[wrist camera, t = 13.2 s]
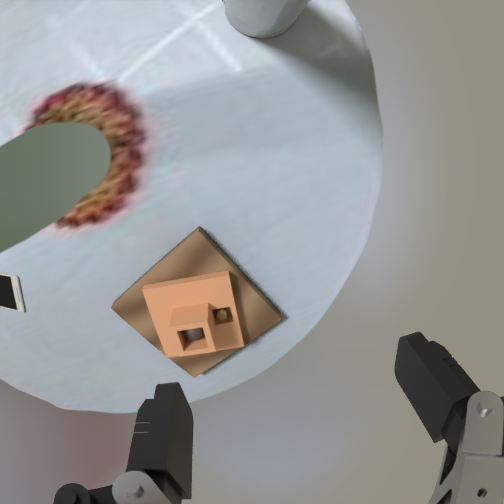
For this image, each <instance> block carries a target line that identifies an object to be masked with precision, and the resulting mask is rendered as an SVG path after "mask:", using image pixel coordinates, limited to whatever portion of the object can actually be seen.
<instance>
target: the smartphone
mask: <svg viewBox="0 0 504 504" xmlns="http://www.w3.org/2000/svg"><path fill="white" fill-rule="evenodd" d="M0 307H2V308H6V309H10V310H14V311H19V312H24V311H25V307H24V303H23V298H22V293H21V288H20V283H19V277H18V276H17V275H13V274H7V273H2V272H0Z"/></svg>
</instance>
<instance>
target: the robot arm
mask: <svg viewBox="0 0 504 504" xmlns="http://www.w3.org/2000/svg"><path fill="white" fill-rule="evenodd" d="M222 1H223V2H224V3H225V13H226V16H227V19H228V20H229V22H230V24H231V25H232V26H233V27H234V28H235V29H237V30H238V31H239V32H241V33H243V34H245V35H247V36H251V37H255V38H270V37H274V36H277V35H280V34H282V33H284V32H285V31H286V30H287V29H289V27H290V26H291V25H292V24H293V23H294V22H295V20H296V19H297V17H298V16H299V14H300V13H301V12H302V10H303V9H304V8H305V6H306V5H307V4H308V2H309V1H310V0H222ZM395 376H396V379H397V381H398V383H399V384H400V386H401V388H402V389H403V391H404V393H405V394H406V396H407V397H408V399H409V401H410V403H411V404H412V406H413V408H414V409H415V411H416V413H417V414H418V416H419V418H420V419H421V421H422V423H423V424H424V426H425V428H426V430H427V431H428V433H429V435H430V436H431V438H432V440H433V442H434V443H436V442H438V441H440V440H442V439H445V441H446V442H447V445H446V447H445V451H444V456H443V460H442V464H441V469H440V473H439V476H438V480H437V484H436V487H435V490H434V493H433V495H432V497H431V499H430V501H429V503H428V504H503V499H504V397H499V396H498V395H497V394H495V393H493V392H490V391H480V389H479V388H478V387H477V386H476V385H475V383H474V382H473V381H472V380H471V378H470V377H469V376H468V375H467V374H466V372H465V371H464V370H463V369H462V367H461V366H460V365H458V363H457V361H456V360H455V359H454V358H452V357H451V354H450V353H449V352H448V351H447V350H446V348H445V347H444V346H442V345H440V344H438V343H437V342H435V341H430V342H428V340H427V339H426V338H425V337H424V336H423V334H421V333H420V332H415V333H412V334H409V335H406V336H403V337H401V338H400V339H399V343H398V349H397V355H396V361H395ZM192 447H193V416H192V411H191V408H190V406H189V404H188V402H187V399H186V397H185V395H184V393H183V390H182V388H181V386H180V384H179V383H178V382H175V383H165V384H157V386H156V390H155V395H154V399H146V400H145V401H144V403H143V404H142V405H141V407H140V408H139V410H138V414H137V418H136V424H135V428H134V434H133V438H132V443H131V448H130V454H129V459H128V465H127V469H126V472H125V473H123V474H122V475H120V476H119V477H118V478H117V479H116V480H115V482H114V484H113V485H110V486H106V487H102V488H97V489H92V490H87V489H85V488H84V487H83V486H82V485H79V484H76V483H70V484H66V485H64V486H62V487H61V488H60V489H59V490H58V491H57V493H56V495H55V499H54V503H53V504H181V500H182V499H191V483H192Z"/></svg>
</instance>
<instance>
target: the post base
mask: <svg viewBox="0 0 504 504" xmlns="http://www.w3.org/2000/svg"><path fill="white" fill-rule="evenodd" d="M228 270H229V275H230V280H231V285H232V289H233V294H234V299H235V304H236V308H237V313H238V318H239V322H240V327H241V332H242V336H243V341H244V345H245V344H247V343H248V342H250V341H251V340H253V339H254V338H256V337H257V336H258V335H260V334H261V333H263V332H264V331H266V330H267V329H268V328H270V327H271V326H273V325H274V324H276V323H277V322H278V321H280V320H281V319H282V318H281V315H280V312H279V311H278V310H277V309H276V308H275V307H274V306H273V305H272V304H271V303H270V301H269V300H268V299H267V298H266V297H265V296H264V295H263V294H262V293H261V292H260V291H259V290H258V289H257V288H256V287H255V286H254V285H253V283H252V282H251V281H250V280H249V279H248V278H247V277H246V276H245V275H244V274H243V273H242V272H241V271H240V270H239V269H238V267H237V266H236V265H235V264H234V263H233V262H232V261H231V260H230V259H229V258H228V257H227V256H226V255H225V254H224V252H223V251H222V250H221V249H220V248H219V247H218V246H217V245H216V244H215V243H214V242H213V241H212V239H211V238H210V237H209V236H208V235H207V234H206V233H205V232H204V231H203V230H202V229H201V228H200V226H199V227H197V228H196V229H195V230H194V231H193V232H192V233H190V234H189V235H188V236H187V237H186V238H185V239H183V240H182V241H181V242H180V243H179V244H178V245H177V246H175V247H174V248H173V249H172V250H171V251H170V252H169V253H167V254H166V255H165V256H164V257H163V258H162V259H161V260H159V261H158V262H157V263H156V264H155V265H154V266H153V267H152V268H150V269H149V270H148V271H147V272H146V273H145V274H144V275H143V276H142V277H140V278H139V279H138V280H137V281H136V282H135V283H134V284H133V285H132V286H131V287H129V288H128V289H127V290H126V291H125V292H124V293H123V294H122V295H121V296H120V297H119V298H118V299H116V300H115V301H114V303H113V305H112V307H111V308H112V309H113V310H114V311H115V312H116V313H117V314H118V315H119V316H120V317H121V318H122V319H124V320H125V321H126V322H127V323H128V324H129V325H130V326H131V327H133V328H134V329H135V330H136V331H137V332H138V333H139V334H141V335H142V336H143V337H144V338H145V339H146V340H148V341H149V342H150V343H151V344H152V345H154V346H155V347H156V348H157V349H158V350H160V351H161V352H162V353H163V354H164V355H166V354H165V352H164V349H163V347H162V344H161V341H160V339H159V336H158V334H157V331H156V328H155V326H154V323H153V320H152V317H151V315H150V312H149V309H148V306H147V303H146V300H145V298H144V295H143V292H142V289H143V287H144V285H148V284H154V283H160V282H165V281H171V280H177V279H183V278H189V277H194V276H200V275H206V274H212V273H217V272H223V271H228ZM213 311H214V315H215V319H219V320H221V321H224V320H226V319H227V317H232V312H231V308H230V307H225V308H219V309H213ZM184 335H185V337H186V338H187V339H189V340H192V341H195V340H198V339H200V338H201V336H202V328H195V329H188V330H184ZM239 348H241V347H238V348H232V349H226V350H219V351H216V352H210V353H203V354H196V355H189V356H181V357H180V356H176V357H168V358H169V359H171V360H172V361H173V362H174V363H176V364H177V365H178V366H180V367H181V368H182V369H183V370H185V371H186V372H187V373H189V374H190V375H191V376H193V377H194V378H195V377H197V376H198V375H200V374H201V373H203V372H204V371H206V370H208V369H209V368H211V367H212V366H214V365H215V364H217V363H218V362H220V361H221V360H223V359H224V358H226V357H227V356H229V355H230V354H232V353H233V352H235V351H236V350H238V349H239Z"/></svg>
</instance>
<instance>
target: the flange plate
mask: <svg viewBox="0 0 504 504" xmlns="http://www.w3.org/2000/svg"><path fill="white" fill-rule="evenodd" d="M142 292H143V295H144V298H145V300H146V303H147V306H148V309H149V312H150V315H151V317H152V320H153V323H154V326H155V328H156V331H157V334H158V336H159V339H160V341H161V344H162V347H163V349H164V352H165V354H166V357H167V358H168V357H176V356H180V357H181V356H189V355H196V354H203V353H210V352H216V351H219V350H226V349H232V348H238V347H244V341H243V336H242V332H241V327H240V322H239V318H238V313H237V308H236V304H235V299H234V294H233V289H232V285H231V280H230V275H229V270H228V271H223V272H217V273H212V274H206V275H200V276H194V277H189V278H183V279H177V280H171V281H165V282H160V283H154V284H148V285H144V287H143V289H142ZM225 307H230V308H231V312H232V317H227V319H226V320H224V321H221V320H219V319H215V315H214V311H213V309H219V308H225ZM195 328H202V336H201V338H200V339H198V340H195V341H192V340H189V339H187V338H186V337H185V335H184V330H188V329H195Z"/></svg>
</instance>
